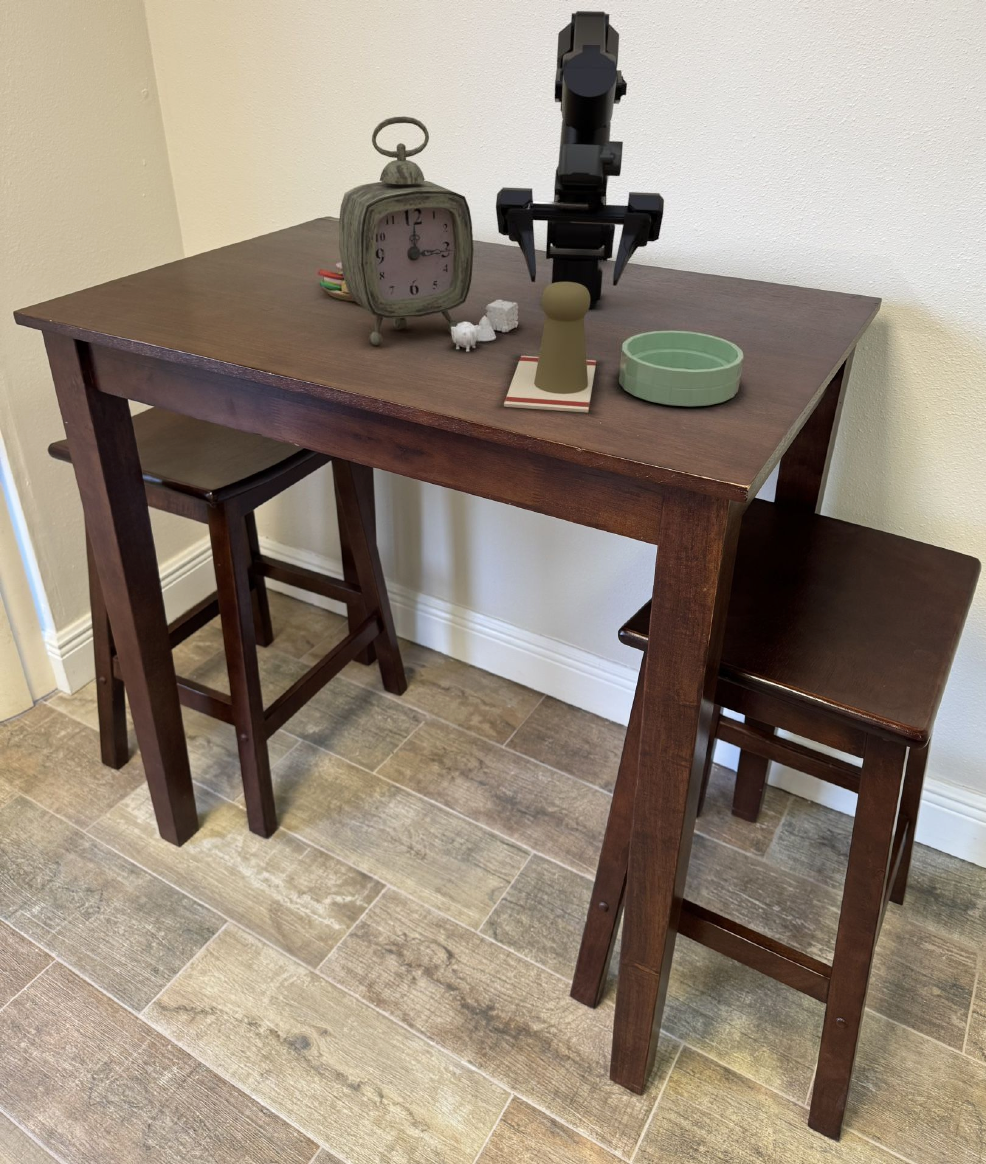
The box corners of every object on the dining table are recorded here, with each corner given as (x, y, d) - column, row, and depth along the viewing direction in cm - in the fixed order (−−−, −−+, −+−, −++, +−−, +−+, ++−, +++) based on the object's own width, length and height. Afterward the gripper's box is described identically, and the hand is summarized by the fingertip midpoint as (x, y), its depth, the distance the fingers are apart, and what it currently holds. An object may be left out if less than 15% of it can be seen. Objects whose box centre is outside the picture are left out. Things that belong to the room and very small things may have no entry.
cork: (570, 397, 101) (577, 295, 95) (523, 385, 104) (527, 285, 98) (597, 381, 106) (605, 282, 100) (552, 369, 108) (557, 273, 102)
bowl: (616, 404, 101) (620, 366, 99) (620, 361, 112) (624, 327, 110) (741, 412, 100) (747, 375, 97) (733, 369, 111) (738, 334, 108)
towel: (503, 406, 100) (503, 402, 100) (520, 358, 113) (521, 355, 112) (588, 412, 99) (588, 408, 99) (596, 363, 112) (596, 359, 111)
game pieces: (497, 323, 124) (497, 298, 122) (518, 327, 122) (519, 302, 120) (447, 349, 115) (446, 323, 113) (470, 354, 114) (470, 328, 112)
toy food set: (366, 311, 127) (364, 286, 125) (298, 292, 134) (296, 269, 132) (430, 289, 136) (429, 266, 134) (364, 273, 143) (362, 251, 141)
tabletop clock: (366, 352, 114) (352, 124, 100) (340, 330, 120) (324, 114, 107) (473, 335, 119) (473, 118, 106) (443, 315, 126) (440, 108, 112)
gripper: (499, 108, 102) (486, 238, 99) (672, 113, 100) (665, 245, 97) (504, 172, 112) (493, 291, 109) (661, 178, 111) (654, 299, 108)
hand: (573, 281), depth 106 cm, fingers open, 9 cm apart
